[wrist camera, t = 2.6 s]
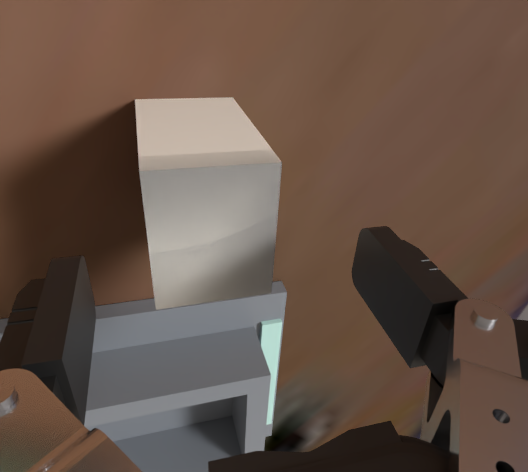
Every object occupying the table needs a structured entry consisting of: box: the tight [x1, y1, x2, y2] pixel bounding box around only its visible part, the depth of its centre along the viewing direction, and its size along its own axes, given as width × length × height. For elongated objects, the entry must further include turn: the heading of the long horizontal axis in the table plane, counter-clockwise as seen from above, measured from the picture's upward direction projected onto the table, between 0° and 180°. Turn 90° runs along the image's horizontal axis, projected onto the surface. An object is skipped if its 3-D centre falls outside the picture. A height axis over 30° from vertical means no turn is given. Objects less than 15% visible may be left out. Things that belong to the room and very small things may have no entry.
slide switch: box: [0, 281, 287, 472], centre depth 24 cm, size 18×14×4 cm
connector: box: [135, 98, 282, 310], centre depth 16 cm, size 4×5×7 cm
